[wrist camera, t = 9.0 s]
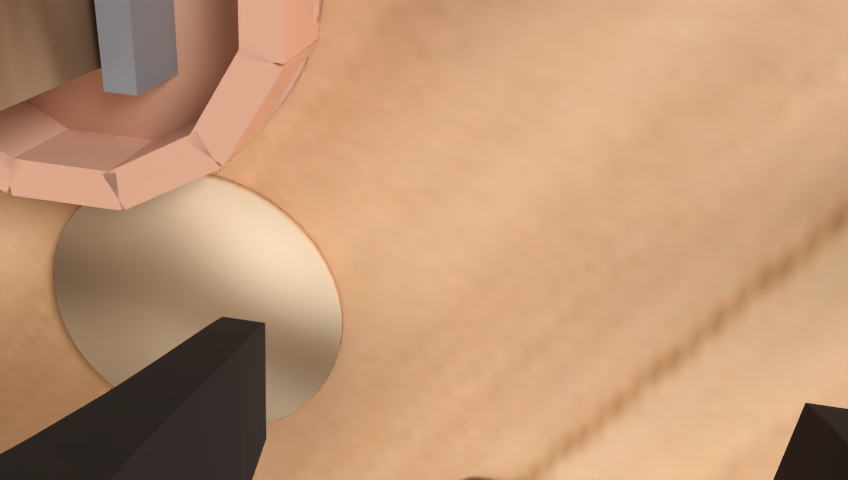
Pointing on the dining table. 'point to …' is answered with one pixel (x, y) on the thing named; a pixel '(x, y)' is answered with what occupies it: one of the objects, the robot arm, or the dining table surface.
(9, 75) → the brown rectangular block
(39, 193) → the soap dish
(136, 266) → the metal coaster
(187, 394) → the robot arm
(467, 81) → the dining table surface
